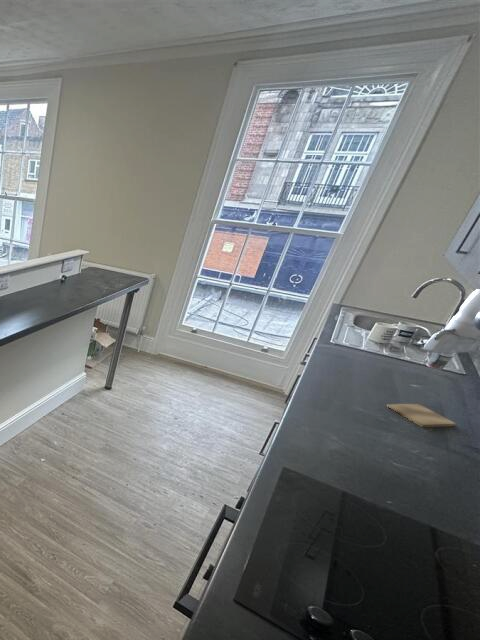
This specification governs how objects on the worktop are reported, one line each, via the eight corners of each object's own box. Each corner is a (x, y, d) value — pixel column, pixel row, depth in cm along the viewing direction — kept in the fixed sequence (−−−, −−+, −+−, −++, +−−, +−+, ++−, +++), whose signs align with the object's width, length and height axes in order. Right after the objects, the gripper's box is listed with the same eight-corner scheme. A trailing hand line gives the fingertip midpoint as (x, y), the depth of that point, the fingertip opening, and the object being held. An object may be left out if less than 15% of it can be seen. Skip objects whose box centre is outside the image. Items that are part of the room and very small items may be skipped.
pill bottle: (424, 363, 163) (437, 344, 159) (439, 366, 161) (454, 348, 157) (428, 367, 160) (442, 348, 155) (444, 371, 158) (458, 352, 153)
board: (454, 425, 137) (456, 423, 137) (421, 427, 135) (423, 424, 134) (416, 405, 147) (418, 403, 147) (385, 406, 145) (387, 404, 144)
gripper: (451, 332, 148) (426, 365, 155) (493, 332, 151) (468, 364, 158) (432, 325, 153) (409, 357, 160) (473, 325, 156) (449, 357, 163)
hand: (438, 361), depth 159 cm, fingers closed on pill bottle, 5 cm apart
